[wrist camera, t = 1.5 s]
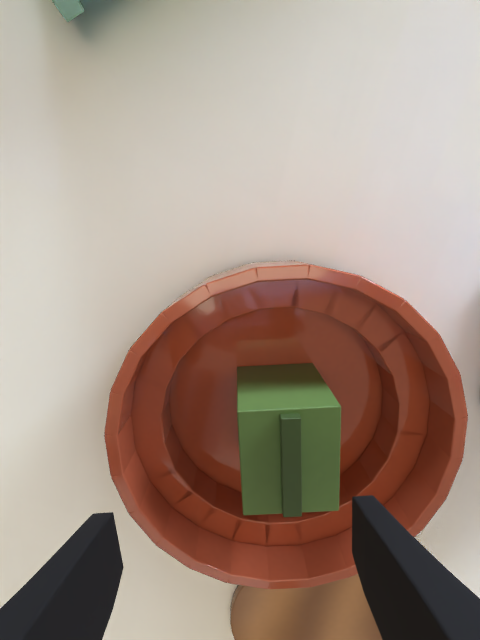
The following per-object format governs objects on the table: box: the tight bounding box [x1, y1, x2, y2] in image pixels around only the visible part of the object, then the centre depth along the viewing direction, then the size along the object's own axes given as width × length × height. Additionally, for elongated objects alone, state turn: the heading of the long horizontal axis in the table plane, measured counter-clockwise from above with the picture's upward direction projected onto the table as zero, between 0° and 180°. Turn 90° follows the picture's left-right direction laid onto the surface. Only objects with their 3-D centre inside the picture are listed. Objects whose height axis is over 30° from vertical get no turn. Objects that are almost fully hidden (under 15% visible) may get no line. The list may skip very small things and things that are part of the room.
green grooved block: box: [237, 363, 341, 517], centre depth 16 cm, size 4×5×5 cm
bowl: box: [104, 260, 468, 590], centre depth 17 cm, size 16×16×4 cm
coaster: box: [231, 574, 383, 640], centre depth 22 cm, size 11×11×1 cm
